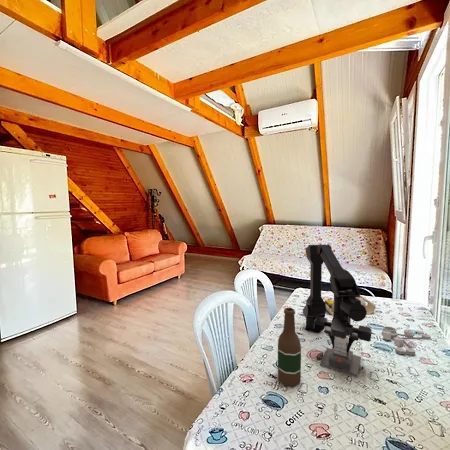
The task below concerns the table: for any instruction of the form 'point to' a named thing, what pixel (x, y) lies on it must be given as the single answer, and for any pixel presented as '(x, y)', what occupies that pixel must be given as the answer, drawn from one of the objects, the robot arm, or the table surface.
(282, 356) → the beer bottle
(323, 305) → the robot arm
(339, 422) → the table surface
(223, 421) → the table surface
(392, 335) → the pulley system
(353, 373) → the stand base
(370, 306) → the toy food set
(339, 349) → the grey slab
